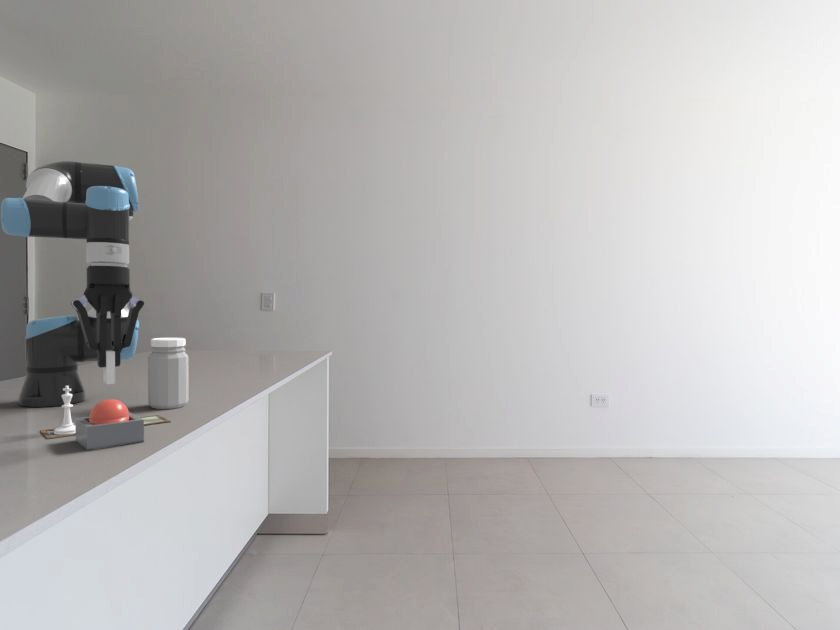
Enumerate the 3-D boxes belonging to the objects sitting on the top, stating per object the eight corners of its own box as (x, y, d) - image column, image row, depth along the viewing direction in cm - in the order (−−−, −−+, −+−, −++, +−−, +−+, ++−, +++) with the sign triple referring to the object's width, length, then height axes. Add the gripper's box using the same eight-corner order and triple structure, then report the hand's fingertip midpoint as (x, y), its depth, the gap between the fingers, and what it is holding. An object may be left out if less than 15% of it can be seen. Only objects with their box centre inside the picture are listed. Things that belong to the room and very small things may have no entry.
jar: (140, 409, 144) (139, 339, 143) (162, 402, 154) (161, 336, 153) (175, 410, 143) (175, 340, 142) (195, 403, 153) (195, 337, 152)
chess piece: (67, 435, 117) (67, 388, 117) (48, 434, 118) (47, 387, 118) (86, 430, 122) (85, 384, 121) (67, 428, 123) (66, 383, 122)
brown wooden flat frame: (40, 431, 120) (40, 430, 120) (158, 415, 136) (158, 414, 136) (47, 439, 114) (47, 438, 114) (170, 421, 130) (170, 421, 130)
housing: (75, 440, 113) (75, 418, 113) (129, 432, 120) (129, 411, 120) (87, 450, 106) (87, 427, 105) (143, 441, 112) (143, 419, 112)
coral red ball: (85, 433, 113) (85, 398, 113) (123, 428, 118) (123, 394, 117) (94, 440, 108) (93, 404, 107) (133, 434, 112) (133, 399, 112)
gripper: (74, 263, 104) (75, 388, 105) (149, 266, 113) (149, 382, 114) (66, 264, 110) (67, 384, 110) (137, 267, 119) (138, 378, 119)
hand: (109, 383), depth 112 cm, fingers closed
